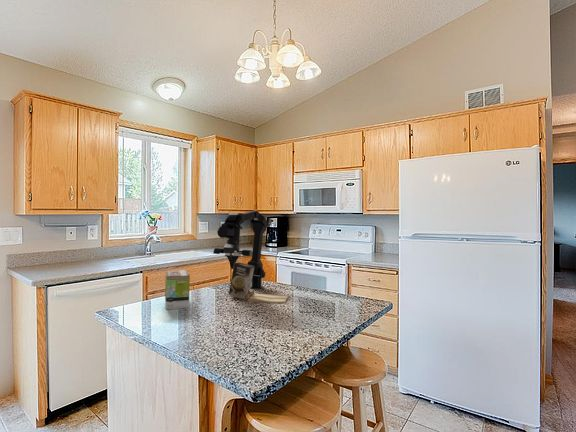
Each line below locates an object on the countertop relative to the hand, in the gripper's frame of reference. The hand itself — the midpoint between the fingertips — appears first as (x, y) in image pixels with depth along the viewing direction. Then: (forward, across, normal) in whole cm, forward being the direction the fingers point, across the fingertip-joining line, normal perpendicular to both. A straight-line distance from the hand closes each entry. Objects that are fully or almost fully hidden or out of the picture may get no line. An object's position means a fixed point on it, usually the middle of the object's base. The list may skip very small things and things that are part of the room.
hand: (232, 269), depth 165 cm
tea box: (+16, -20, -17) cm, 30 cm away
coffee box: (+13, +4, +2) cm, 14 cm away
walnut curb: (+14, +9, +2) cm, 17 cm away
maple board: (+13, +19, +1) cm, 24 cm away
